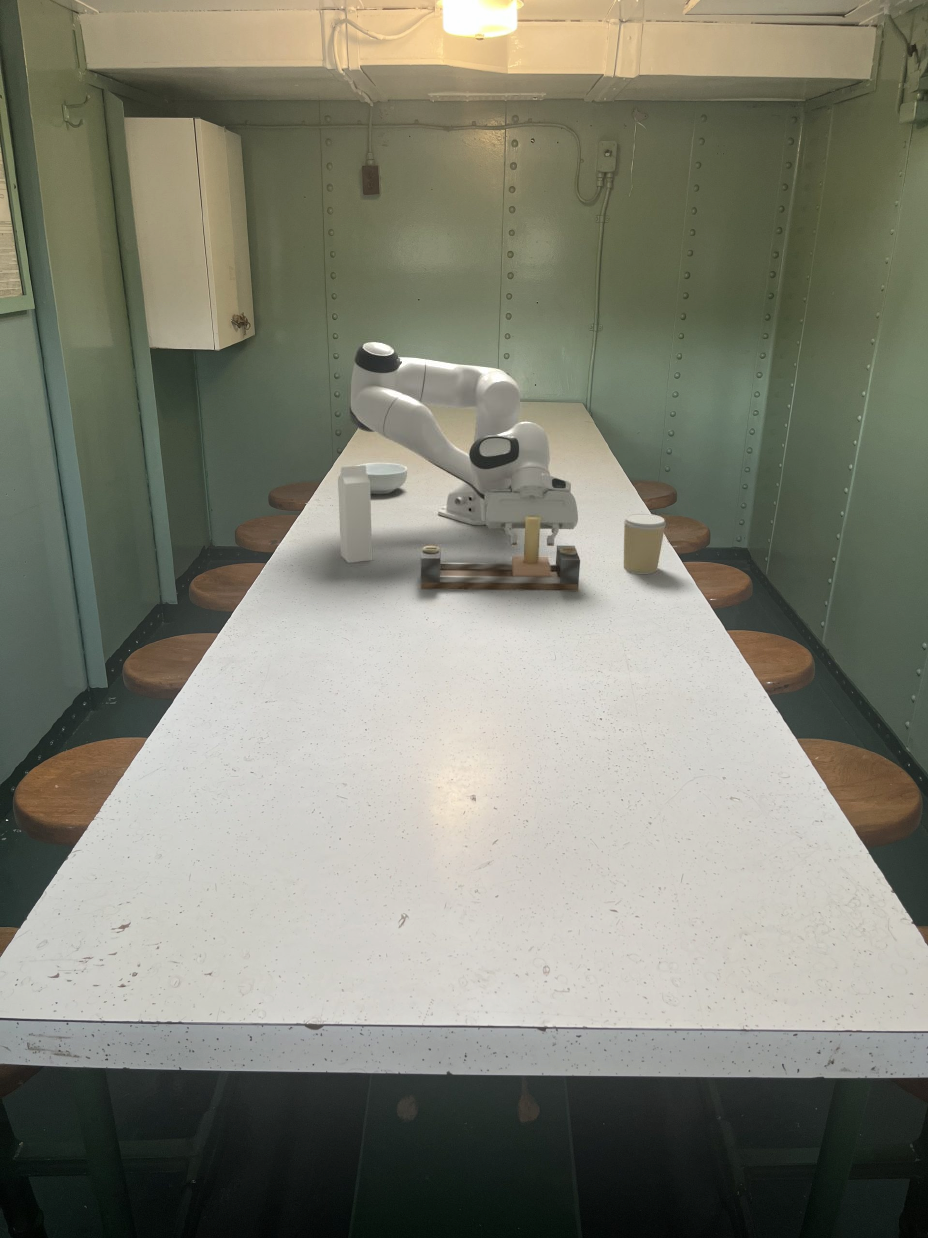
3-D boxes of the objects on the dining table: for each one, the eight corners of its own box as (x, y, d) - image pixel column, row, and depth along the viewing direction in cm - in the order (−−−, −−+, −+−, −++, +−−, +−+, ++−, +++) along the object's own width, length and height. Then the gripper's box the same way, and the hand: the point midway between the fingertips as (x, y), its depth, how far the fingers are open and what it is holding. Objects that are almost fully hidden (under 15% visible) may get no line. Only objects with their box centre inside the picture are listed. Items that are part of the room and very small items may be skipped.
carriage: (513, 579, 191) (515, 522, 186) (511, 568, 197) (513, 512, 192) (549, 580, 191) (553, 522, 186) (547, 569, 197) (550, 513, 192)
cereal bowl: (411, 485, 273) (411, 462, 270) (402, 499, 258) (402, 475, 255) (357, 483, 274) (356, 460, 272) (345, 496, 259) (345, 473, 256)
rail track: (421, 588, 190) (421, 554, 187) (423, 573, 199) (422, 540, 196) (578, 590, 190) (580, 556, 187) (572, 574, 199) (574, 542, 196)
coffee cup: (663, 564, 207) (668, 515, 202) (657, 577, 199) (663, 526, 194) (623, 559, 210) (627, 511, 205) (616, 572, 201) (621, 521, 197)
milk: (372, 560, 207) (370, 468, 198) (347, 563, 205) (344, 470, 196) (364, 552, 212) (362, 462, 203) (340, 555, 210) (336, 464, 201)
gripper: (484, 481, 193) (484, 537, 188) (577, 482, 193) (580, 538, 188) (483, 495, 199) (483, 550, 193) (574, 496, 199) (576, 551, 194)
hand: (532, 544), depth 191 cm, fingers open, 7 cm apart
